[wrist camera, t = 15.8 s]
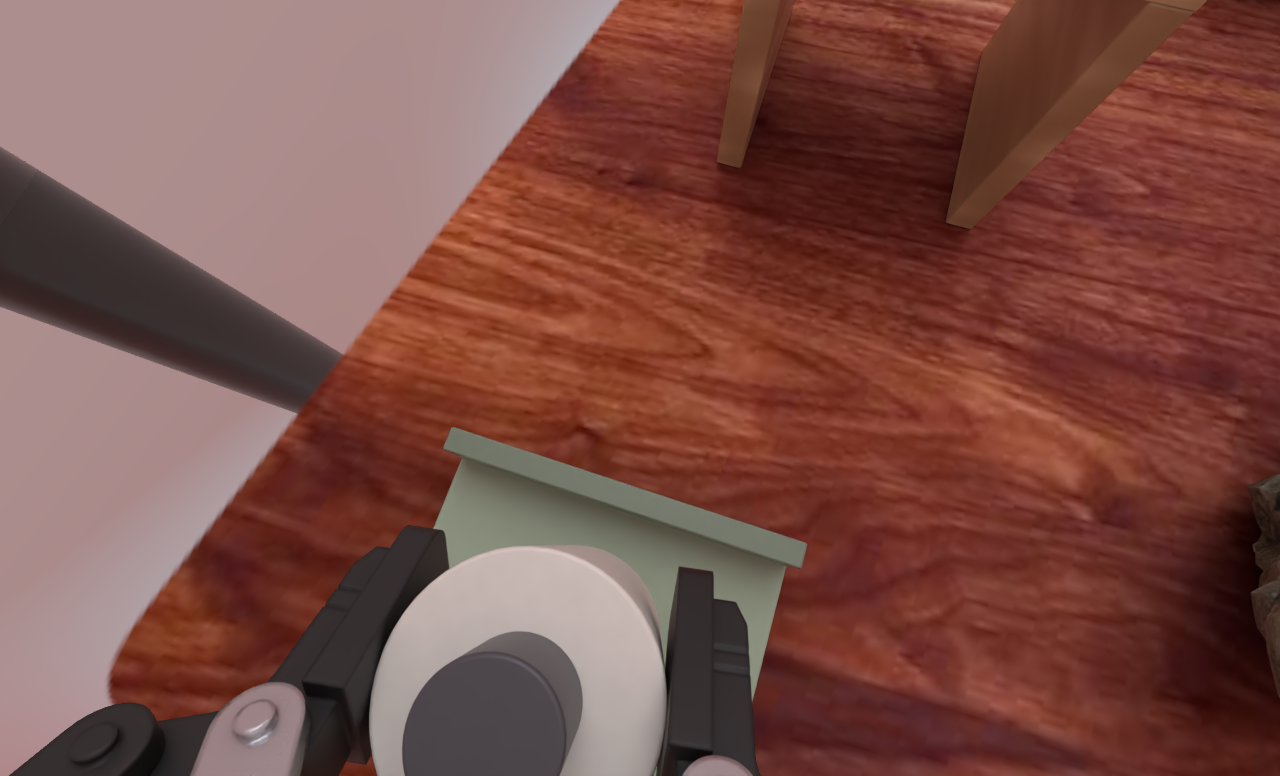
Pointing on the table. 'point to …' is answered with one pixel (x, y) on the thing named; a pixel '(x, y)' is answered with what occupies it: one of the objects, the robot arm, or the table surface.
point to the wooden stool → (991, 83)
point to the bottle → (523, 670)
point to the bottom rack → (612, 529)
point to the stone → (1268, 568)
